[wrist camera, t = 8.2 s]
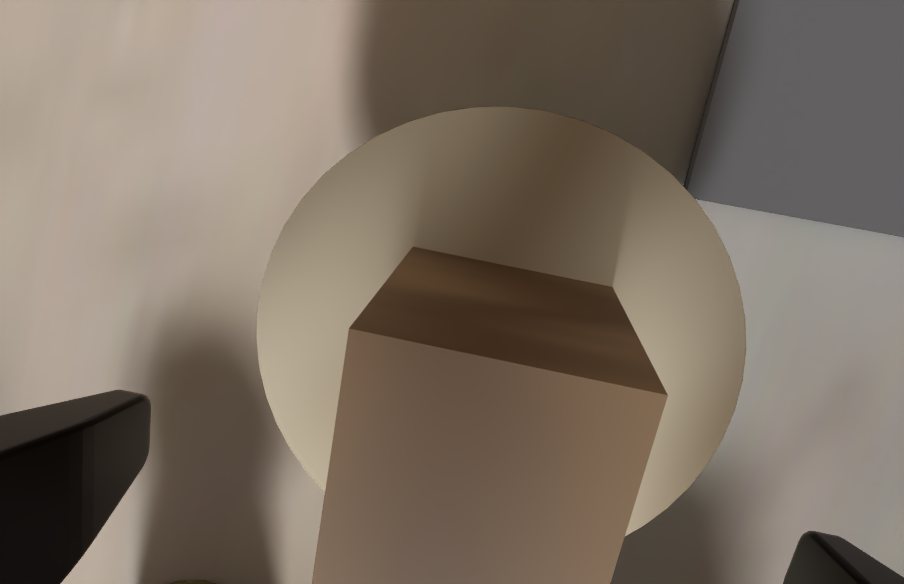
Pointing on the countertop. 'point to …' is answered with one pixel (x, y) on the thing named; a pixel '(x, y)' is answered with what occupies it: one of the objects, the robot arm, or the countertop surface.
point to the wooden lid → (497, 349)
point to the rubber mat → (808, 113)
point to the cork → (193, 582)
